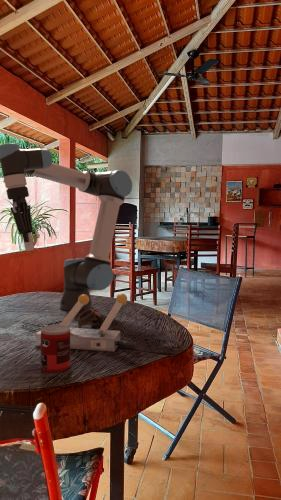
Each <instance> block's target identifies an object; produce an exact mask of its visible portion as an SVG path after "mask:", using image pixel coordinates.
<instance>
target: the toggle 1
mask: <svg viewBox="0 0 281 500" xmlns="http://www.w3.org/2000/svg"><path fill="white" fill-rule="evenodd" d="M88 302H89V297H88V296H87V295H86V294H82V295H80V296H79V297H78V302H77V303H76V304H75V305H74V307H73V308H72V309H71V311H68V313H67V315H66V316H65V317H64V318H63V320H62V321H61V322H60V324H59V325H65V326H68V327H69V325H70V324H71V322H72V321H73V319H75V317H76V316H77V314H78V313H79V312H81V311H80V309H81V308H82V307H83V306H84V305H86V304H88Z"/></svg>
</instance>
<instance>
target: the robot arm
mask: <svg viewBox="0 0 281 500" xmlns="http://www.w3.org/2000/svg"><path fill="white" fill-rule="evenodd" d="M0 168H1V172H2V175H3V176H2V177H3V183H4V186H5V188H6V196H7V199H8V200H9V201H10V200H12V207H10V212H11V213H12V216H13V219H14V222H15V225H16V228H17V232H18V235H21V236H22V240H23V244H24V249H25V252H30V251H34V250H35V248H34V242H33V237H32V233H34V230H33V222H32V221H33V220H32V215H31V208H32V207H31V205H30V204H28V201H27V199H26V198H28V197H29V196H30V194H29V189H28V188H29V187H27V185H28V183H27V178H26V175H30V176H34V177H37V178H41V179H44V180H47V181H51V182H55V183H59V184H62V185H65V186H68V187H71V188H76V189H78V191H79V192H82V193H85V194H89V195H91V196H94V197H98V200H100V201H99V202H100V205H99V209H98V213H97V218H96V223H95V226H94V227H95V228H94V232H93V235H92V239H91V240H92V241H91V244H90V245H91V246H90V249H89V253H88V254H87V255H85V256H84V257H82V258H81V257H80V258H68V259H66V260H64V262H63V293H62V296H61V299H60V301H59V302H60V303H59V308H60V310H64V311H68V312H70V311H71V309H72V308H73V307H74V305H75V304H76V303H77V302H78V297H79V296H80V295H82V294H86V295H87V296H88V297H89V302H88V304H86V305H84V306H83V307H82V308H81V309H80V311H79V312H81V311H82V312H84V311H86V310H88V309H93V308H94V307H93V306H94V305H93V304H94V302H93V299H92V296H91V294H90V293H91V292H90V290H91V291H103V290H105V289H107V288H109V286H110V285H111V284H112V282H113V280H114V271H113V268H112V266H111V264H112V261H111V259H110V258H109V257H110V252H111V247H112V242H113V240H114V239H113V238H114V234H115V229H116V224H117V220H118V217H119V216H118V215H119V211H120V206H121V205H122V204H124V203H125V198H126V197H127V196H129V195H130V194H131V192H132V189H133V182H132V178H131V176H130V175H129V173H127V171H124V170H122V169H113V170H109V171H98V172H93V171H92V172H91V171H87V170H84V171H79V170H76V169H74V168H70V167H67V166H64V165H61V164H58V163H54V162H53V157H52V153H51V151H50V150H49V149H48V148H41V147H40V148H28V149H27V148H26V149H24V148H23V149H22V148H20V145H19V144H18V143H15V142H12V143H11V142H10V143H3V144H0ZM25 174H26V175H25Z"/></svg>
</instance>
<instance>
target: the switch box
mask: <svg viewBox="0 0 281 500" xmlns="http://www.w3.org/2000/svg"><path fill="white" fill-rule="evenodd" d="M35 346H36V347H41V330H39V331H37V332H36V333H35ZM118 347H128V348H136V347H137V342H136V341H124V340H121V330H113V329H112V330H111V329H107V331H106V332H105V333H104V334H102V335H99V329H98V328H97V329H94V328H83V327H82V328H79V327H70V349H71V350H72V349H74V350H89V351H98V352H99V351H100V352H101V351H102V352H112V353H113V352H115V351H116V350H117V349H118Z"/></svg>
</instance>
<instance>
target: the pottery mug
mask: <svg viewBox="0 0 281 500" xmlns="http://www.w3.org/2000/svg"><path fill="white" fill-rule="evenodd" d="M76 320H77V321H78V322H77V327H78V328H81V327H83V326H86V325H89V326H91V322H92V324H97V323H98V326H99V327H101V326H102V324H103V323H104V319H103V317H102V315H101V314H100V313H99V312H98V309H93V308H91V309H88V310H83V311H82V312H81V313H80V314H79V315H78V317H77V319H76Z"/></svg>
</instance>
